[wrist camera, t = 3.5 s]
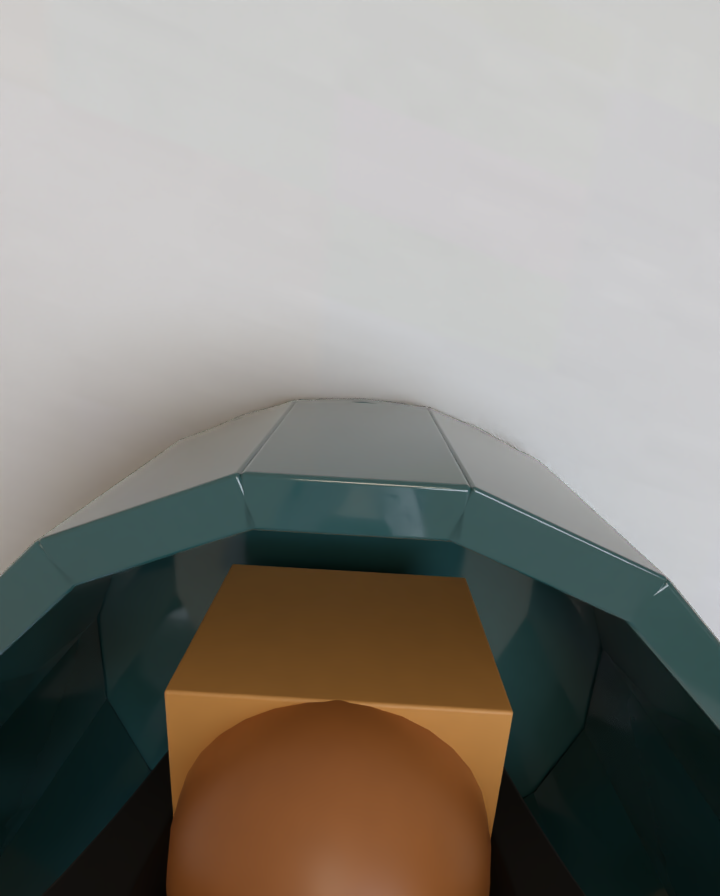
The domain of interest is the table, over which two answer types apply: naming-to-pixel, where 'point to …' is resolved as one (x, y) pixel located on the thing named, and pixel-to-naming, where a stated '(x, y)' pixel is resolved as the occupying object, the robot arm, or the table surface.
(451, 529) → the pot
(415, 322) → the table surface
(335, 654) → the bread
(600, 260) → the table surface
